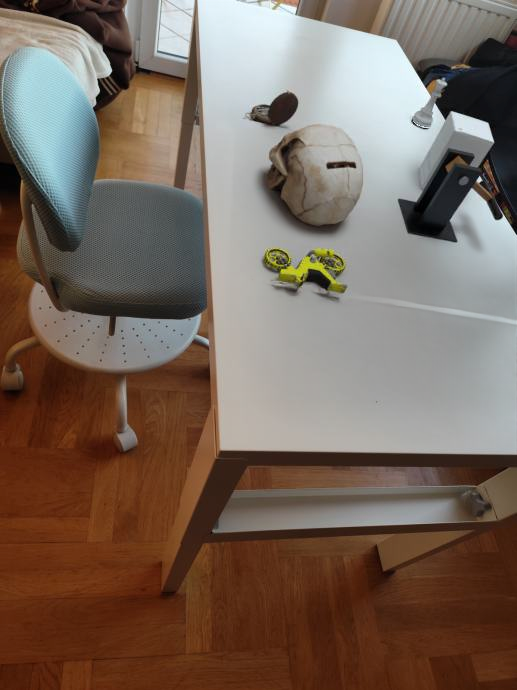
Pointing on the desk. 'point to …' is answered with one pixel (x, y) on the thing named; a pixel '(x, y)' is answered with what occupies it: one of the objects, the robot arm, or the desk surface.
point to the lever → (481, 191)
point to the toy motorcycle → (309, 268)
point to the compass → (276, 110)
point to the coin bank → (317, 173)
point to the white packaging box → (457, 143)
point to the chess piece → (429, 106)
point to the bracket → (440, 198)
